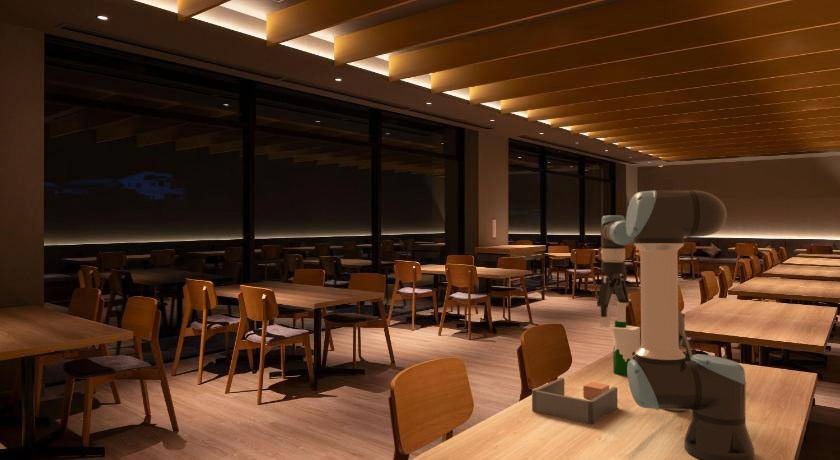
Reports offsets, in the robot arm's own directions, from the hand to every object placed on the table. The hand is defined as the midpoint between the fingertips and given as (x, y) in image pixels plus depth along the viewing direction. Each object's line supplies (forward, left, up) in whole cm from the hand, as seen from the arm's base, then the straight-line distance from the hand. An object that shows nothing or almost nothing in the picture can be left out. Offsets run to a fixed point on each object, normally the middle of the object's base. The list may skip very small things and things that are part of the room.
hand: (613, 324), depth 189 cm
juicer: (+2, -22, -21) cm, 30 cm away
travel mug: (-8, -21, -22) cm, 31 cm away
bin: (-28, +1, -22) cm, 36 cm away
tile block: (-12, +1, -22) cm, 25 cm away
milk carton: (+21, +3, -22) cm, 31 cm away
